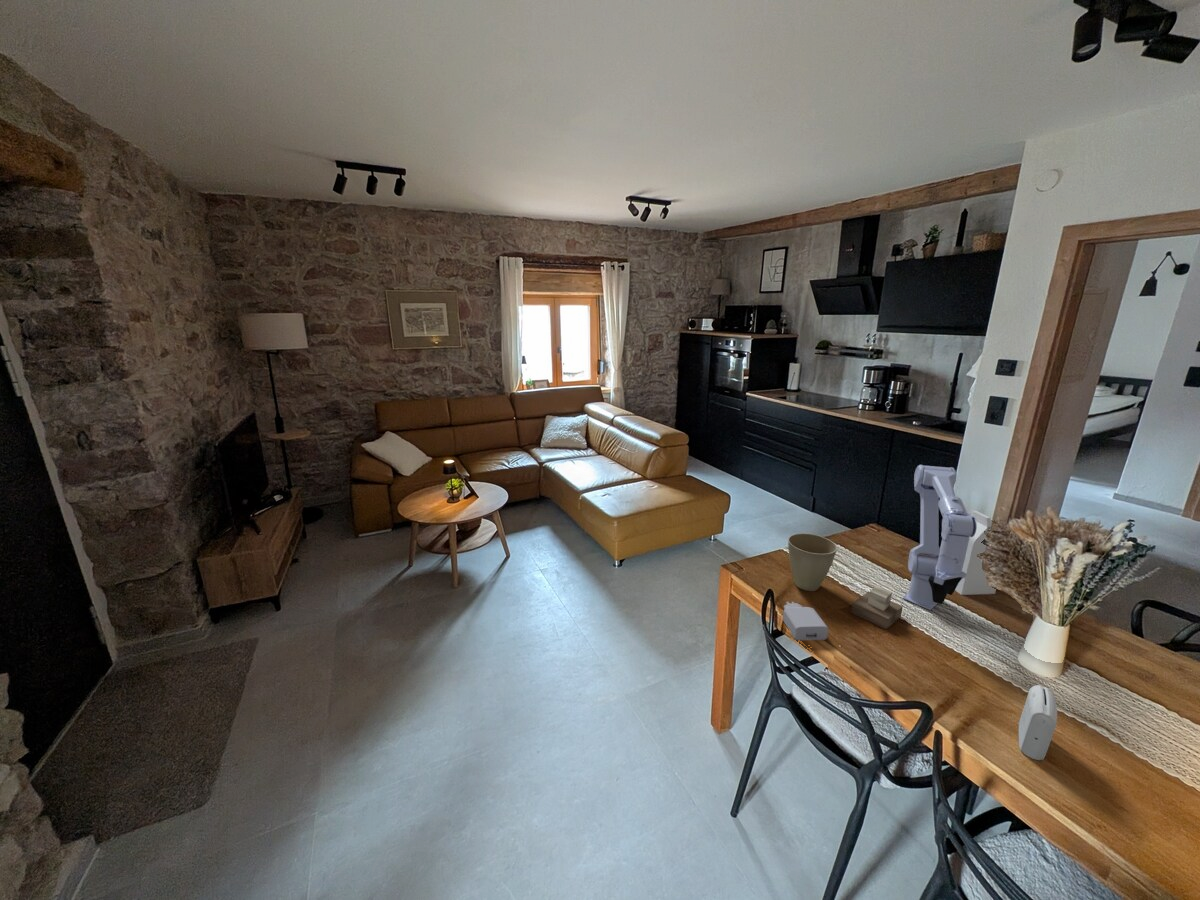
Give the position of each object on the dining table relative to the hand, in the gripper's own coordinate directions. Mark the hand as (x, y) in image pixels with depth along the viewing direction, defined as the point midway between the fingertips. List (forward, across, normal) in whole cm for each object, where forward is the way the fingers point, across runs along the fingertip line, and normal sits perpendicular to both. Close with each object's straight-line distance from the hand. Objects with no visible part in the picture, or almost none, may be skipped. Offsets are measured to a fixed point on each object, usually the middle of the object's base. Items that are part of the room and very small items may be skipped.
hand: (942, 597), depth 132 cm
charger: (+11, -29, +26) cm, 40 cm away
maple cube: (+7, -7, +13) cm, 16 cm away
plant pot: (+10, -8, +35) cm, 38 cm away
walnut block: (+11, -7, +14) cm, 19 cm away
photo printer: (+11, -26, -27) cm, 39 cm away
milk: (+10, +34, +3) cm, 36 cm away
